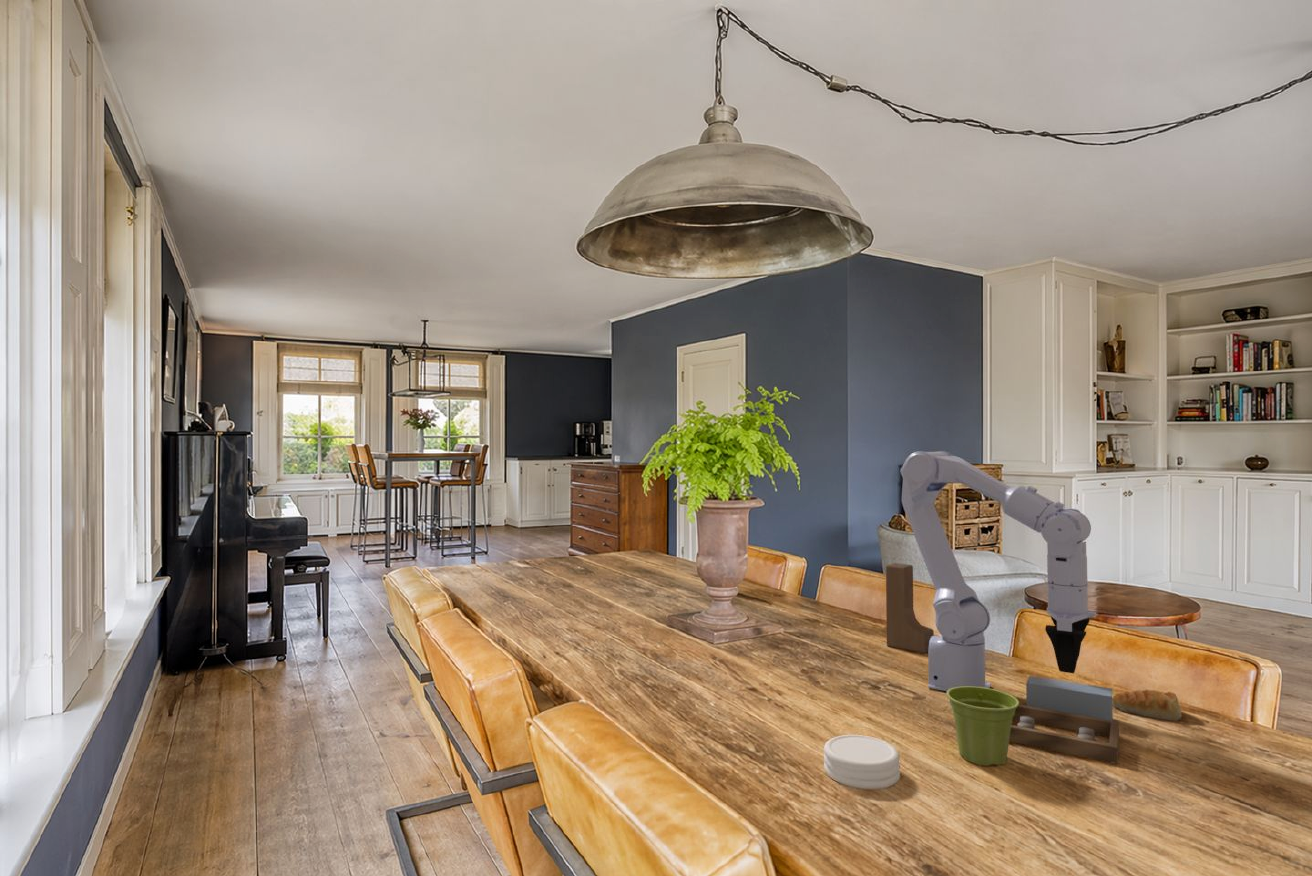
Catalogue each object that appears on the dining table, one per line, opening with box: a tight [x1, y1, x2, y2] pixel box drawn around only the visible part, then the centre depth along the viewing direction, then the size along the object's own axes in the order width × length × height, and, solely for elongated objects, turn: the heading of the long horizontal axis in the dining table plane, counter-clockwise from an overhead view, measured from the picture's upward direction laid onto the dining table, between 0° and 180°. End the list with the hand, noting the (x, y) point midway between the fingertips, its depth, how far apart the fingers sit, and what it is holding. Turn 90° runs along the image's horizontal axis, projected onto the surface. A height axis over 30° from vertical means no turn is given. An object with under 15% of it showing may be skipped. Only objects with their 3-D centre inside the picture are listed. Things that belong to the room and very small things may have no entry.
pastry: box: [1112, 689, 1182, 721], centre depth 118 cm, size 9×7×4 cm
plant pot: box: [946, 686, 1020, 767], centre depth 101 cm, size 9×9×9 cm
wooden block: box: [885, 562, 935, 654], centre depth 155 cm, size 9×4×18 cm, turn 45°
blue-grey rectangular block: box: [1025, 675, 1114, 721], centre depth 116 cm, size 12×4×5 cm, turn 56°
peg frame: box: [1009, 703, 1120, 765], centre depth 107 cm, size 16×11×2 cm
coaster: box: [823, 734, 901, 790], centre depth 97 cm, size 10×10×4 cm
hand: (1068, 665), depth 116 cm, fingers open, 7 cm apart
